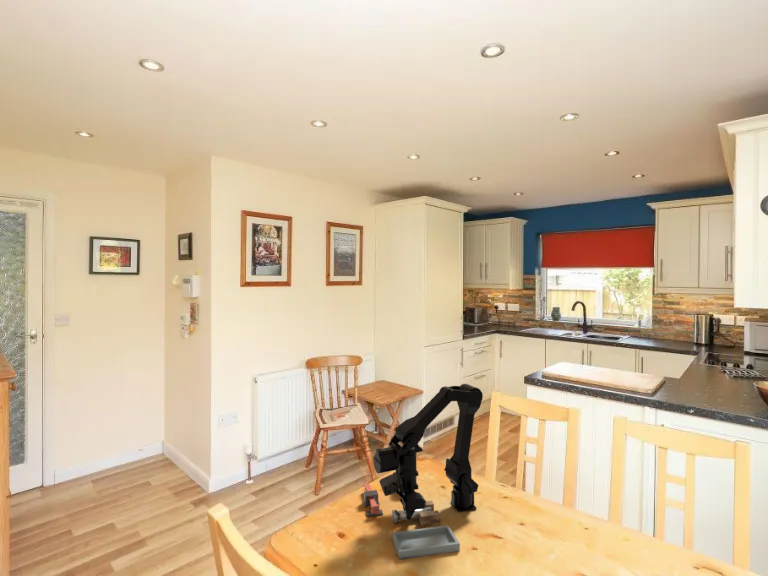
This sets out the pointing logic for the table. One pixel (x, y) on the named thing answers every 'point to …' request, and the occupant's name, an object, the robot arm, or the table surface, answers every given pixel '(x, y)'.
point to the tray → (425, 542)
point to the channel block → (429, 516)
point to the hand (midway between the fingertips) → (407, 516)
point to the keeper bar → (372, 501)
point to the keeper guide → (367, 504)
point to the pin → (402, 514)
